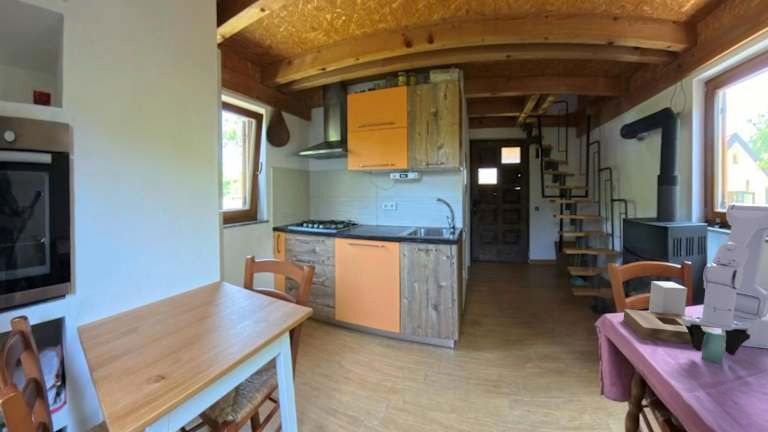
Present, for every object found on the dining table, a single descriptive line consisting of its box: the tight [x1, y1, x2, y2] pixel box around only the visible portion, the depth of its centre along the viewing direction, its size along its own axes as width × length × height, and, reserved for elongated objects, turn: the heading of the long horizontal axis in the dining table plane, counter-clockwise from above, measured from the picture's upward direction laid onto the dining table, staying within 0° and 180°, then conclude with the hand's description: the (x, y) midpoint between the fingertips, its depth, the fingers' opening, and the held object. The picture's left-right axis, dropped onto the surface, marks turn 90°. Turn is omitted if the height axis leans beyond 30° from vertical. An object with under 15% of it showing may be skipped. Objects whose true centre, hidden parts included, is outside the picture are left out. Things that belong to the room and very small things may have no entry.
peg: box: [701, 330, 726, 365], centre depth 86 cm, size 4×4×8 cm
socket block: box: [623, 308, 716, 347], centre depth 101 cm, size 20×14×4 cm
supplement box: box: [648, 280, 688, 315], centre depth 112 cm, size 7×7×13 cm
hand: (712, 351), depth 86 cm, fingers open, 7 cm apart
